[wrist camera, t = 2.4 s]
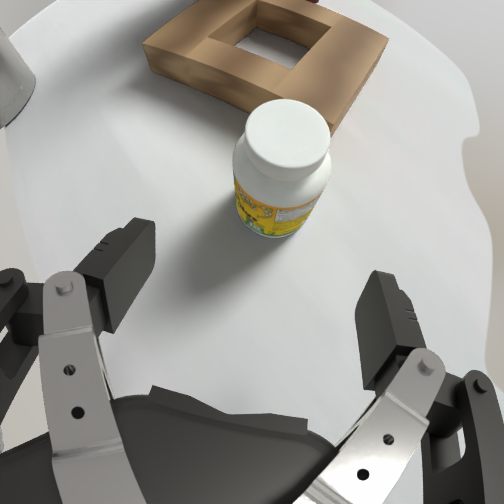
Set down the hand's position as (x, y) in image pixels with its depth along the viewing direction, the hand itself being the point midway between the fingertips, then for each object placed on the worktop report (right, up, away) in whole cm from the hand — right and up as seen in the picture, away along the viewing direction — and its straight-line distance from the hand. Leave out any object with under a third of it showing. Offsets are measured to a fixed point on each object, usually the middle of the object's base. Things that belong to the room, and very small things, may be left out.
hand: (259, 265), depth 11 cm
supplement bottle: (+1, +4, +12) cm, 13 cm away
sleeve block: (+1, +19, +15) cm, 24 cm away
